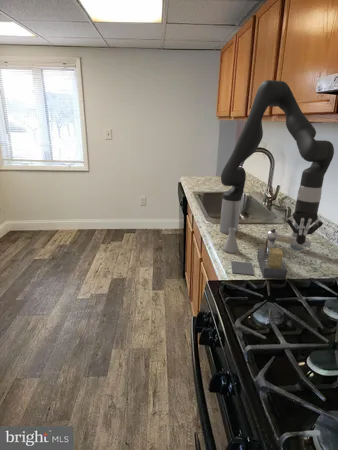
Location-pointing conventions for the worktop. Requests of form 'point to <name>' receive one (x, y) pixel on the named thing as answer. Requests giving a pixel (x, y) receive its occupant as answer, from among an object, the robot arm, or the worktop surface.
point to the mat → (242, 268)
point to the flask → (231, 242)
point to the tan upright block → (275, 257)
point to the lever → (286, 239)
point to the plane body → (264, 266)
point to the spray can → (291, 246)
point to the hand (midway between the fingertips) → (299, 243)
